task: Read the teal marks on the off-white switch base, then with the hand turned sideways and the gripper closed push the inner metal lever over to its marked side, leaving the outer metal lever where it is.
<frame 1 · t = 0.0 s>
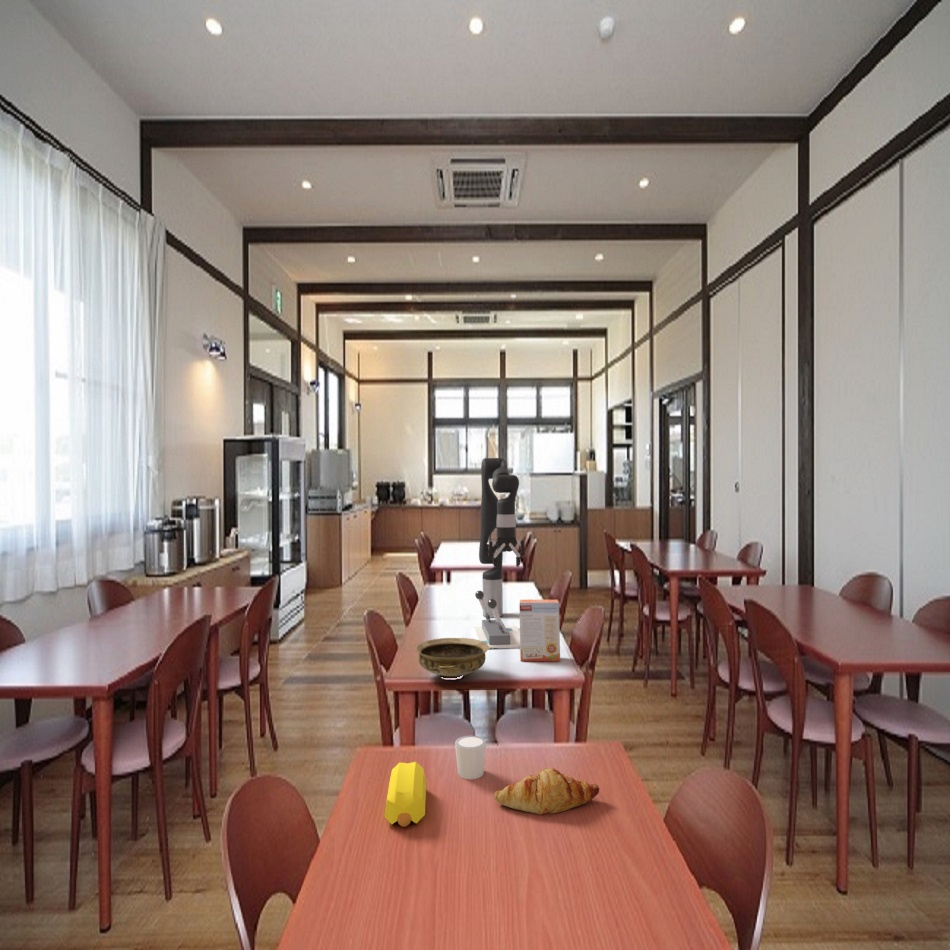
hand: (506, 566, 246), 29 cm above the table, tool pointing down, fingers open, 8 cm apart
cracker box: (540, 659, 222), on the table
ceramic bowl: (452, 677, 204), on the table
yellow faceted prism: (406, 807, 125), on the table
switch unit: (495, 638, 251), on the table
croissant: (546, 804, 126), on the table
lever inner: (483, 606, 260), point 11 cm above the table, hinge at -20.0°
lever outer: (496, 615, 242), point 11 cm above the table, hinge at -20.0°
shot glass: (470, 774, 139), on the table
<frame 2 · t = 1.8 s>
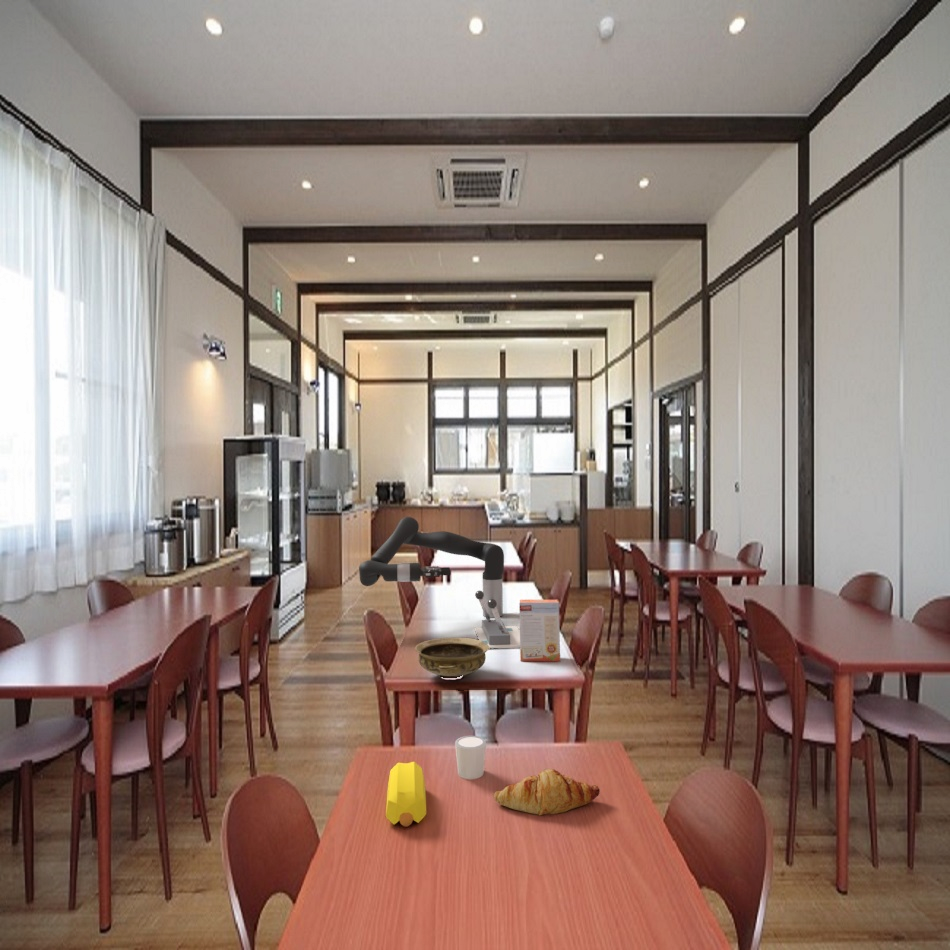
hand: (450, 571, 258), 26 cm above the table, tool horizontal, fingers open, 5 cm apart
nothing on the table moved.
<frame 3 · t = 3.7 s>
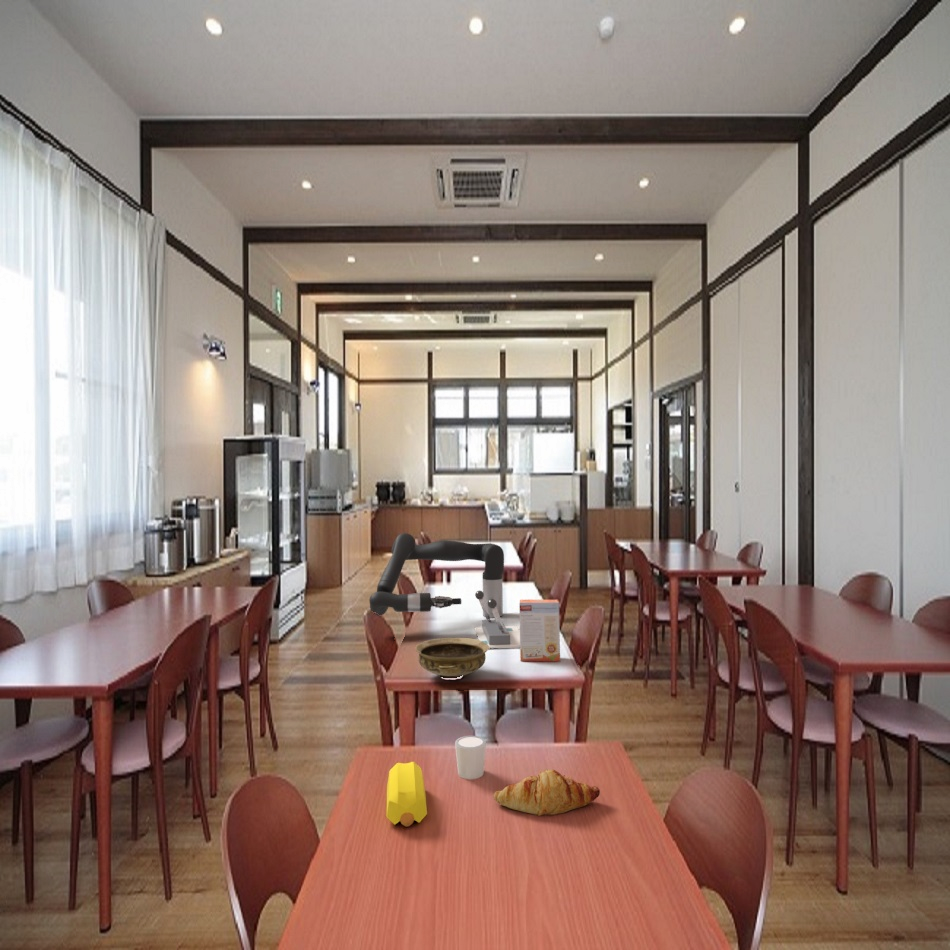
hand: (461, 601, 259), 14 cm above the table, tool horizontal, fingers closed
nothing on the table moved.
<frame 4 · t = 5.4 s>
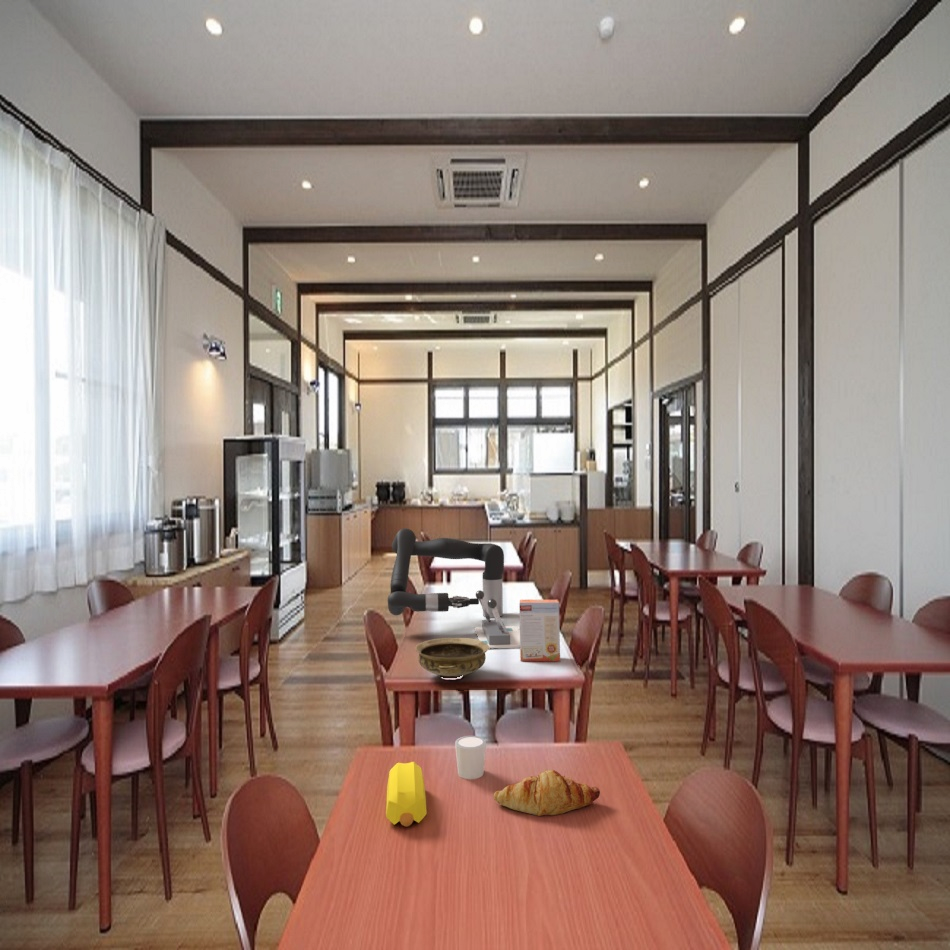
hand: (478, 601, 259), 13 cm above the table, tool horizontal, fingers closed
lever inner: (483, 605, 260), point 11 cm above the table, hinge at -19.2°, touching gripper
everything else where it was.
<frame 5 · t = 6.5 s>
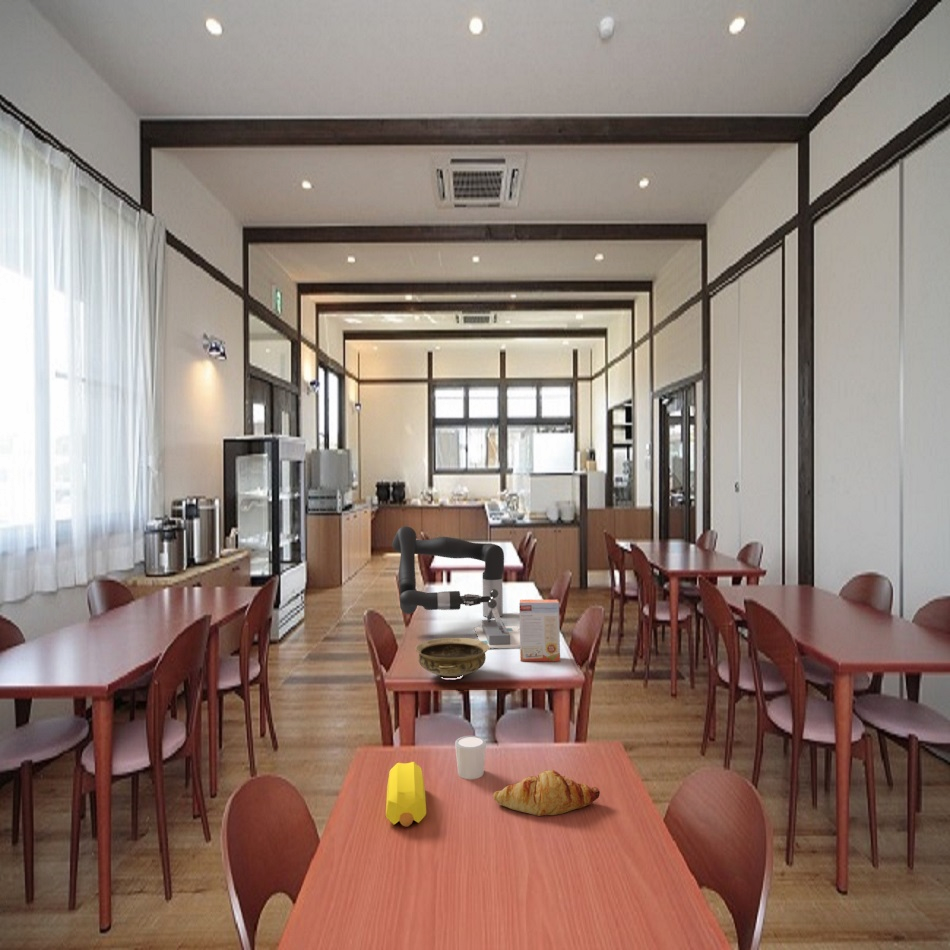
hand: (490, 599, 260), 14 cm above the table, tool horizontal, fingers closed
lever inner: (491, 605, 260), point 11 cm above the table, hinge at 12.1°, touching gripper
everything else where it was.
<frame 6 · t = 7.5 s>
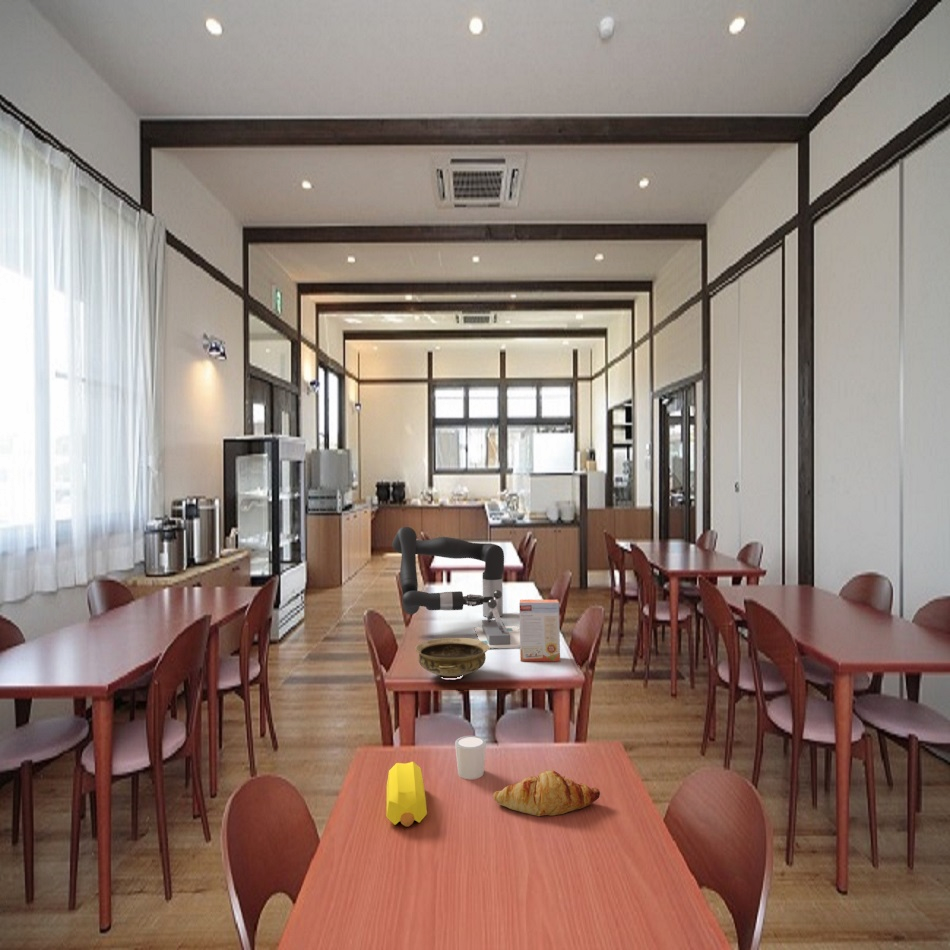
hand: (492, 599, 260), 14 cm above the table, tool horizontal, fingers closed
lever inner: (493, 605, 260), point 11 cm above the table, hinge at 20.0°, touching gripper
everything else where it was.
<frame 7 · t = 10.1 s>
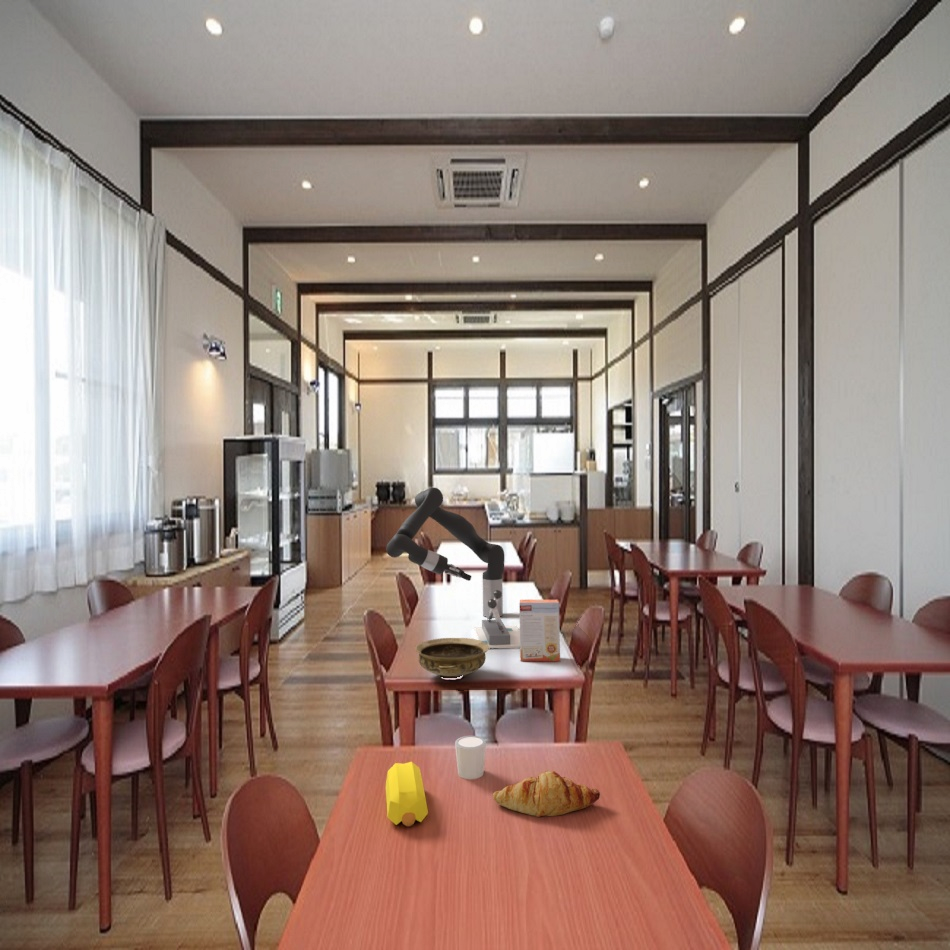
hand: (470, 578, 259), 23 cm above the table, tool tilted 65°, fingers closed
lever inner: (493, 605, 260), point 11 cm above the table, hinge at 20.0°
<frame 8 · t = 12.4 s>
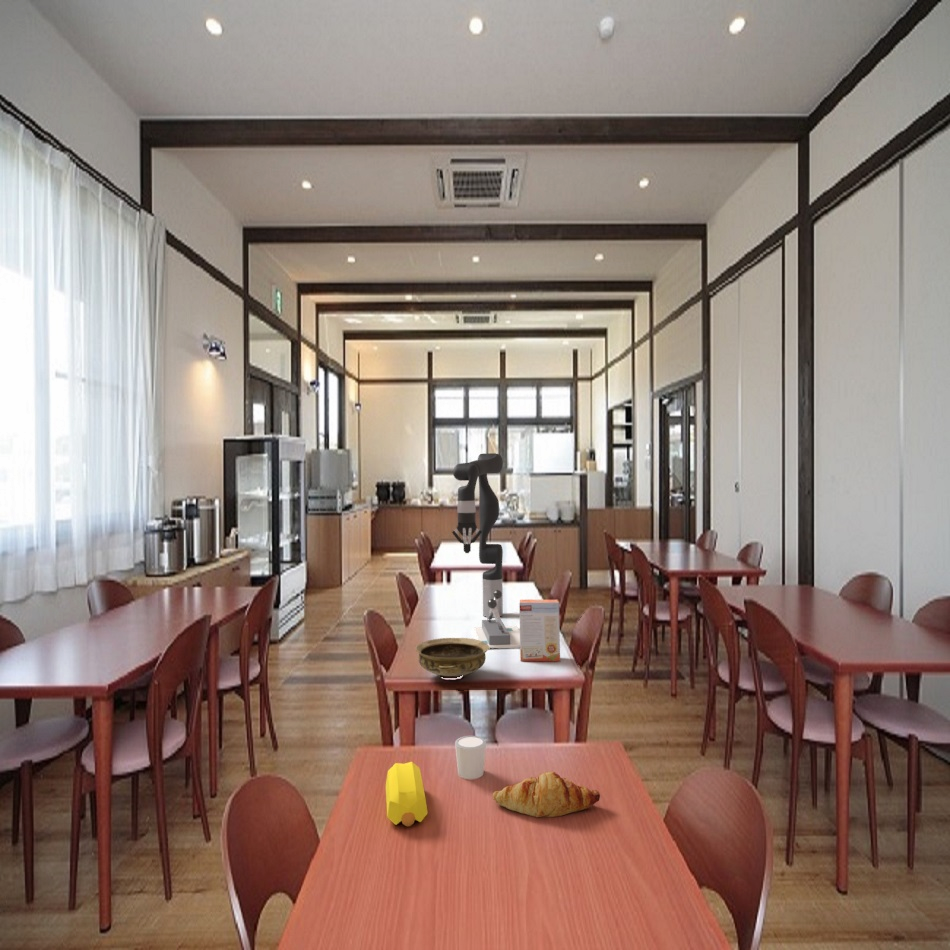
hand: (467, 552, 262), 33 cm above the table, tool pointing down, fingers closed
at the end: lever inner at +20° (first picture: -20°); lever outer at -20° (first picture: -20°) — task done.
